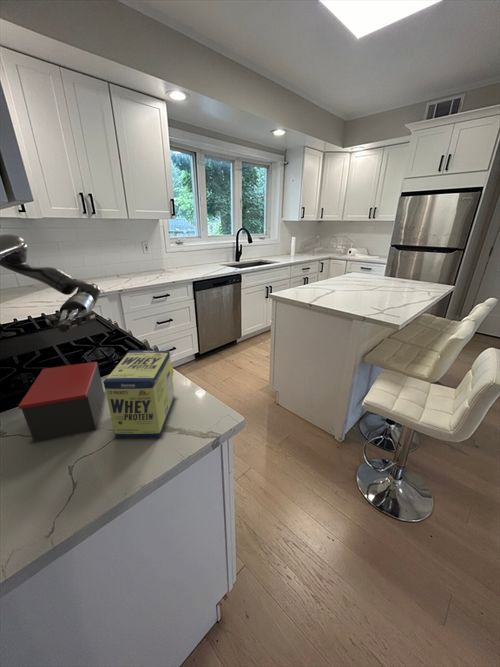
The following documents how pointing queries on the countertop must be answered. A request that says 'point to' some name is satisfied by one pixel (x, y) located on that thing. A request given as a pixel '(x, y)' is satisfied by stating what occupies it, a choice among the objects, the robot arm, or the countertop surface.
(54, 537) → the countertop surface
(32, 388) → the lid
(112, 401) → the protein box
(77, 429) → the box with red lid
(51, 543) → the countertop surface
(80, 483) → the countertop surface
